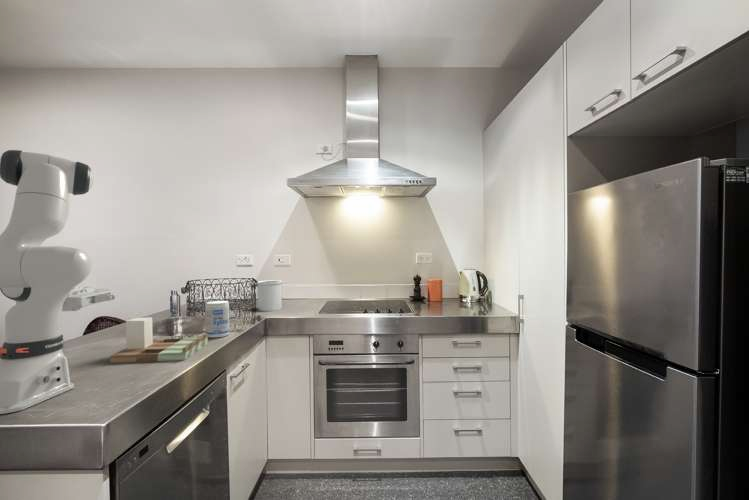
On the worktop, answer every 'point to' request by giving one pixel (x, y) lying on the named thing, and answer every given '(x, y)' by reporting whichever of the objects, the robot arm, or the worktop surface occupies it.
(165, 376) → the worktop surface
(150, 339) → the cream block
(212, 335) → the supplement tub
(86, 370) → the worktop surface
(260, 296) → the utensil holder
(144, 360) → the brown green flat slab
